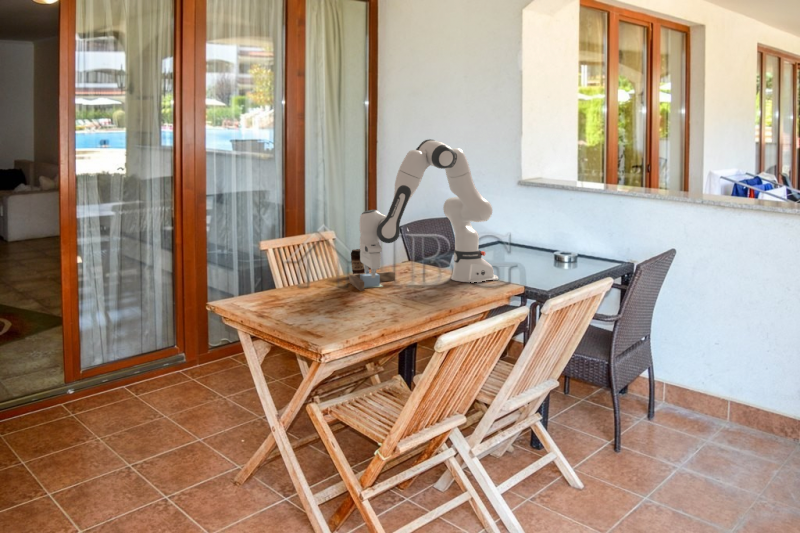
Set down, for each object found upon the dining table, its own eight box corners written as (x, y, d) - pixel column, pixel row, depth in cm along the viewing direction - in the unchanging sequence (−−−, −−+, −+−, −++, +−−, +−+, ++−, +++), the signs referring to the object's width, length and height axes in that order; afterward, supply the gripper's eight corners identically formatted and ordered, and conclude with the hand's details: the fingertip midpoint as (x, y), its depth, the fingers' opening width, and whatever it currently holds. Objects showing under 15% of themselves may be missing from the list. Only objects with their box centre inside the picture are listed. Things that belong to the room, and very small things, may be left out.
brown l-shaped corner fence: (393, 279, 359) (393, 271, 358) (406, 287, 343) (406, 278, 342) (348, 282, 352) (348, 274, 351) (359, 290, 335) (359, 281, 335)
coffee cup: (365, 278, 362) (365, 251, 359) (348, 277, 364) (348, 250, 361) (369, 274, 370) (369, 248, 368) (353, 273, 372) (353, 247, 369)
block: (360, 285, 346) (359, 274, 345) (376, 283, 348) (376, 273, 347) (363, 287, 341) (363, 276, 340) (379, 285, 344) (379, 275, 343)
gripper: (356, 242, 350) (357, 271, 353) (369, 249, 331) (369, 280, 334) (369, 241, 352) (369, 270, 355) (383, 248, 334) (383, 279, 336)
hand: (370, 275), depth 345 cm, fingers open, 8 cm apart
